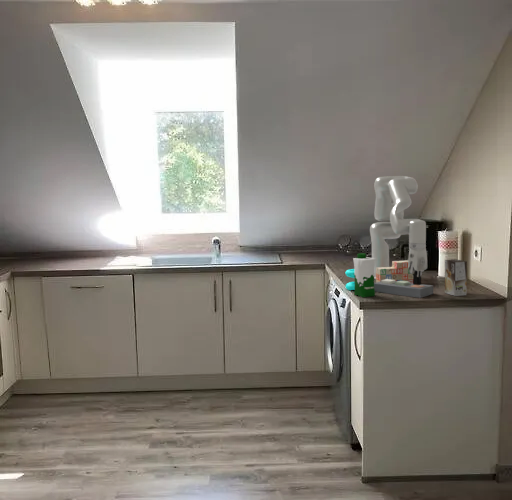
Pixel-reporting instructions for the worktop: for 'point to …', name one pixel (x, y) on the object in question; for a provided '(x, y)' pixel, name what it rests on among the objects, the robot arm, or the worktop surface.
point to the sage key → (402, 283)
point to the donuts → (351, 274)
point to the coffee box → (456, 277)
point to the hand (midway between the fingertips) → (417, 284)
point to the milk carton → (364, 275)
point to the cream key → (388, 281)
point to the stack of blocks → (395, 272)
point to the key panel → (404, 289)
